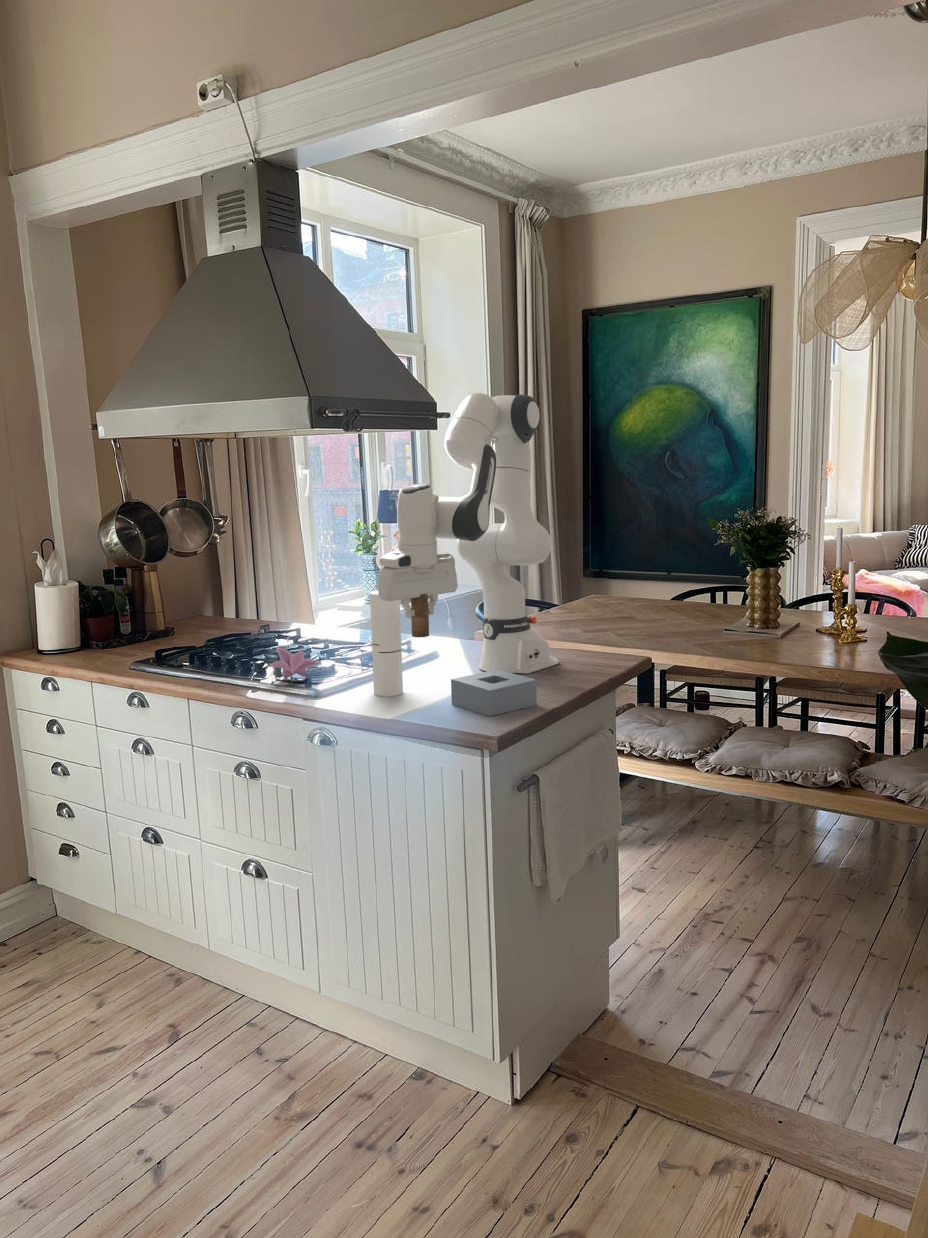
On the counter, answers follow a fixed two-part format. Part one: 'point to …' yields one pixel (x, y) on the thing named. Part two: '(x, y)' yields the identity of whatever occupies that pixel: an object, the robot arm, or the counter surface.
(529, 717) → the counter surface
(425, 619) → the walnut peg
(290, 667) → the lily
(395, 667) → the cylindrical container
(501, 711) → the socket block
